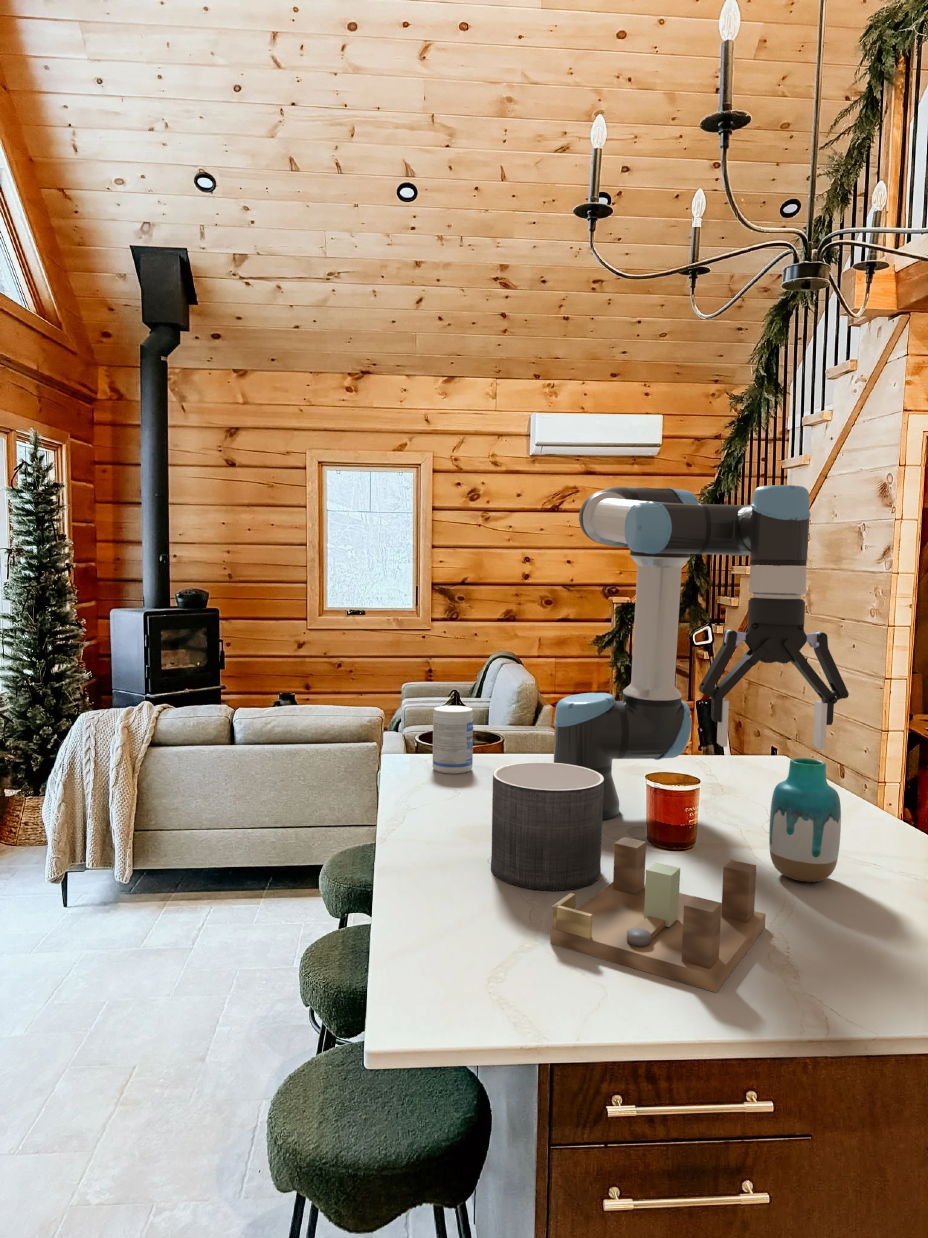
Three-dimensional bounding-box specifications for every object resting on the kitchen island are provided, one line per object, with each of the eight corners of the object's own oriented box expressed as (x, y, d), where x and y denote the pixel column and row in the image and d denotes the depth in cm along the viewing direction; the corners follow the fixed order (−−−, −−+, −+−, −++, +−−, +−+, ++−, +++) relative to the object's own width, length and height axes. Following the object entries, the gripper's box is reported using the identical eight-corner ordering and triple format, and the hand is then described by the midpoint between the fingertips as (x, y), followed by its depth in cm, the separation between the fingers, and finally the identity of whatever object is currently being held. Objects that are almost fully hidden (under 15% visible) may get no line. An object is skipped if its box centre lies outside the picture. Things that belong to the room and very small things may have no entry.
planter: (527, 899, 127) (530, 795, 126) (471, 861, 143) (473, 768, 142) (623, 881, 135) (627, 783, 134) (560, 846, 151) (563, 758, 150)
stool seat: (550, 943, 113) (552, 876, 112) (617, 891, 131) (619, 833, 130) (716, 993, 101) (719, 918, 100) (764, 927, 119) (768, 864, 118)
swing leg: (621, 941, 109) (622, 887, 108) (653, 912, 118) (655, 862, 118) (647, 949, 107) (649, 894, 106) (678, 918, 116) (680, 868, 116)
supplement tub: (476, 774, 200) (477, 711, 199) (436, 775, 198) (437, 712, 197) (467, 764, 209) (468, 704, 208) (429, 765, 207) (430, 705, 206)
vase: (834, 871, 141) (841, 757, 140) (840, 895, 131) (847, 772, 130) (766, 862, 145) (772, 751, 143) (767, 885, 135) (773, 765, 133)
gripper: (855, 597, 124) (848, 743, 125) (681, 593, 124) (676, 738, 126) (878, 599, 116) (871, 754, 117) (693, 595, 117) (687, 749, 118)
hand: (770, 746), depth 122 cm, fingers open, 13 cm apart
